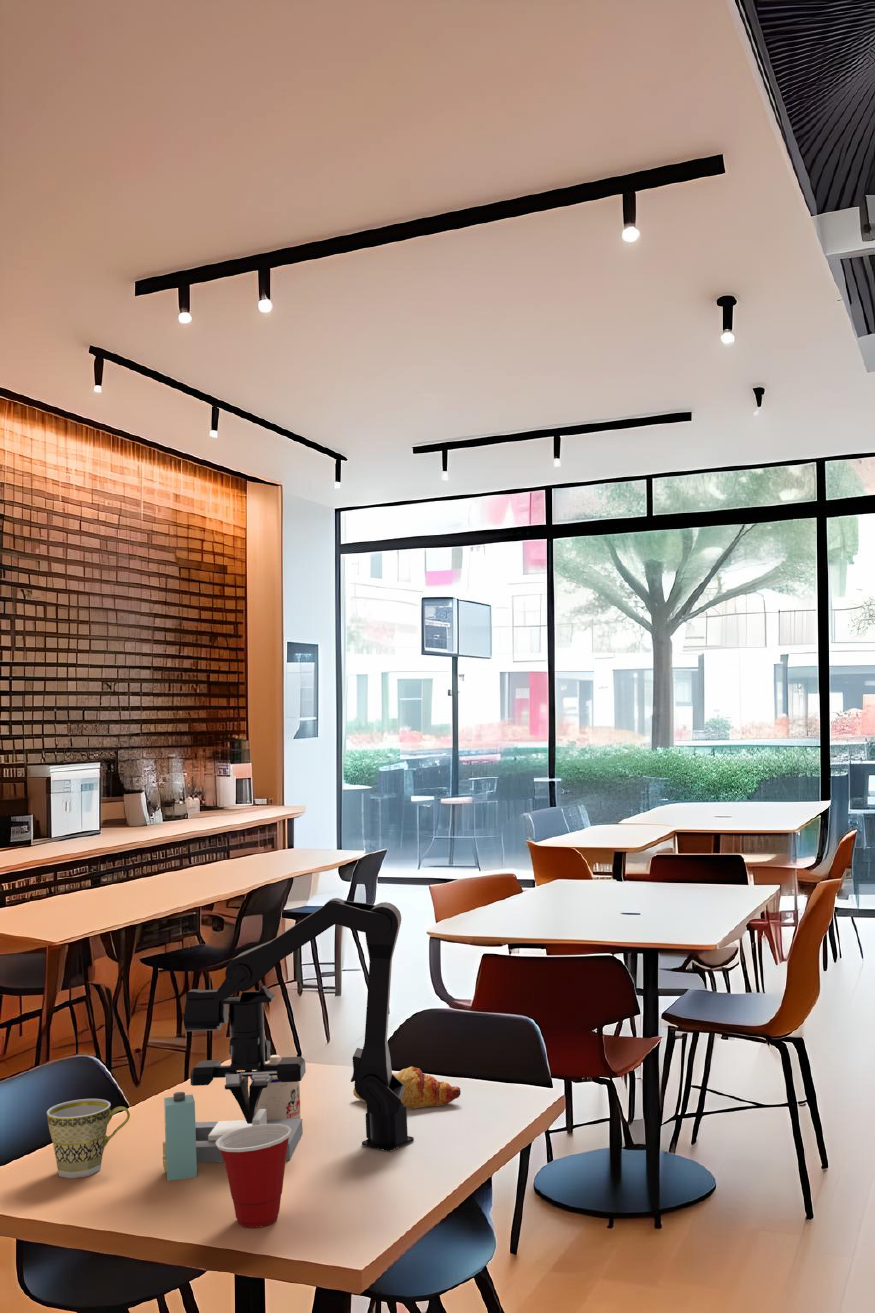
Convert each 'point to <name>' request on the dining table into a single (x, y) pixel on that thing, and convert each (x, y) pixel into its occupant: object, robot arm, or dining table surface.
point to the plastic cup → (255, 1171)
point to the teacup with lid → (280, 1097)
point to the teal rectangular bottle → (179, 1137)
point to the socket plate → (211, 1153)
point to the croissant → (423, 1089)
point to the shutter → (236, 1125)
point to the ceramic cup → (81, 1135)
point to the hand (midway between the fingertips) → (250, 1123)
